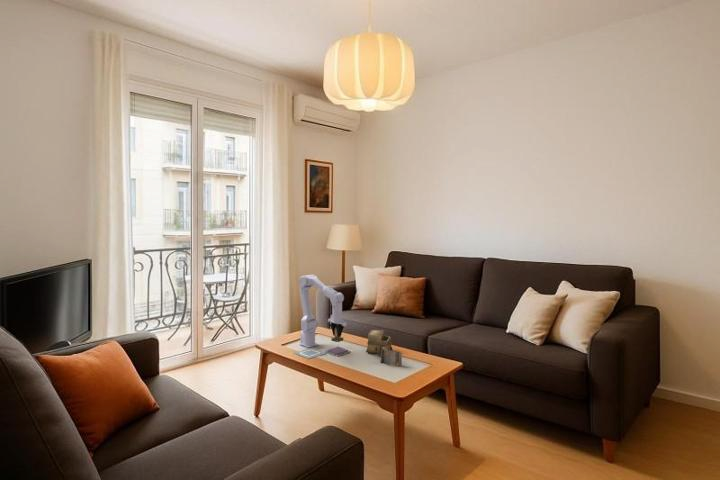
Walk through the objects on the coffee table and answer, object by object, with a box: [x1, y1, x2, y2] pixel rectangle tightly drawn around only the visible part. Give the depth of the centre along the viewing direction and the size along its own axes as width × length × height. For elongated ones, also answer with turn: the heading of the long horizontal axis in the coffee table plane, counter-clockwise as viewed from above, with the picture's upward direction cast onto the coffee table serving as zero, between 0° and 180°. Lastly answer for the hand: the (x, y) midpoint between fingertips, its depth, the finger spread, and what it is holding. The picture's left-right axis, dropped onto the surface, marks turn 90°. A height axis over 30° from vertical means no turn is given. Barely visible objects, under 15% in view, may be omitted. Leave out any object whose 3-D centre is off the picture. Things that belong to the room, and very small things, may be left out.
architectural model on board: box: [380, 347, 403, 367], centre depth 231 cm, size 11×3×10 cm, turn 60°
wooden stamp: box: [331, 328, 344, 343], centre depth 250 cm, size 5×5×8 cm
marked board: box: [293, 347, 327, 360], centre depth 248 cm, size 14×13×1 cm
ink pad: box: [324, 346, 352, 357], centre depth 250 cm, size 11×11×1 cm
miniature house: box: [365, 329, 394, 357], centre depth 251 cm, size 15×14×11 cm
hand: (337, 336), depth 250 cm, fingers closed on wooden stamp, 3 cm apart
